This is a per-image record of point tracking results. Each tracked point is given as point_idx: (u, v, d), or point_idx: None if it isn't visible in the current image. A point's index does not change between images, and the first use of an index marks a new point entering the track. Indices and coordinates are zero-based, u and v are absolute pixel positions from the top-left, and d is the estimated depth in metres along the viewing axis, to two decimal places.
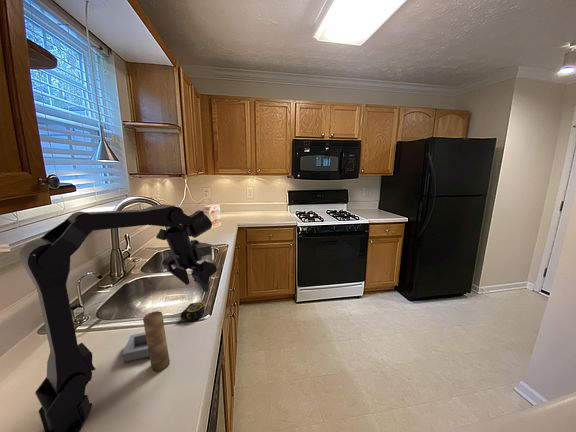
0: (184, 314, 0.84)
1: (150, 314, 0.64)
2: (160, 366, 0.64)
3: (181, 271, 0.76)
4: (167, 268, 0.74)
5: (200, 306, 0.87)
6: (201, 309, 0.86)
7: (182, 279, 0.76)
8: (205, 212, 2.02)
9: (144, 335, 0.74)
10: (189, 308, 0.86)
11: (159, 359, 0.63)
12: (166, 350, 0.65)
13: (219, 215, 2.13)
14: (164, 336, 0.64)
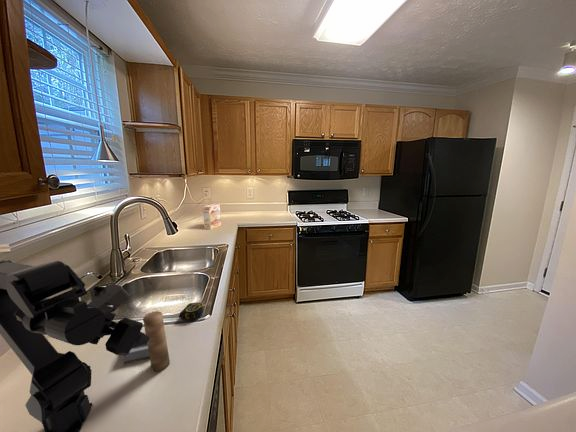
0: (183, 314, 0.84)
1: (150, 314, 0.64)
2: (160, 366, 0.64)
3: None
4: None
5: (199, 306, 0.87)
6: (200, 309, 0.86)
7: None
8: (205, 212, 2.02)
9: None
10: (188, 308, 0.86)
11: (159, 359, 0.63)
12: (166, 350, 0.65)
13: (219, 215, 2.13)
14: (164, 336, 0.64)
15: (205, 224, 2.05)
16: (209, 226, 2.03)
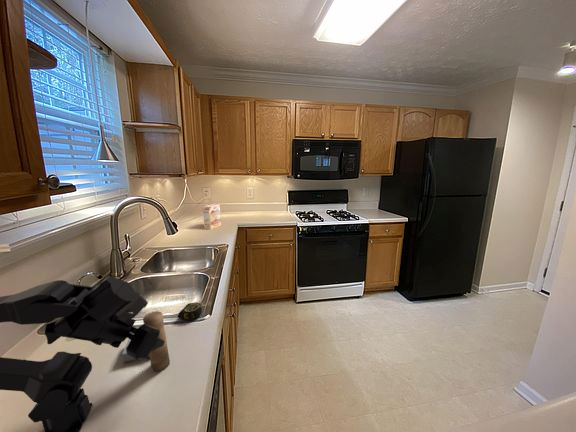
0: (181, 314, 0.84)
1: (150, 314, 0.64)
2: (160, 366, 0.64)
3: None
4: None
5: (197, 306, 0.87)
6: (199, 309, 0.86)
7: None
8: (205, 212, 2.02)
9: None
10: (186, 308, 0.86)
11: (159, 359, 0.63)
12: (166, 350, 0.65)
13: (219, 215, 2.13)
14: (164, 336, 0.64)
15: (205, 224, 2.05)
16: (209, 226, 2.03)
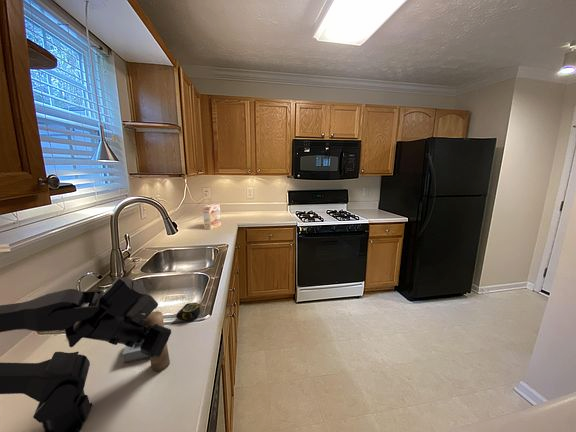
0: (180, 314, 0.84)
1: (150, 314, 0.64)
2: (160, 366, 0.64)
3: None
4: None
5: (196, 306, 0.87)
6: (197, 309, 0.86)
7: None
8: (205, 212, 2.02)
9: None
10: (185, 308, 0.86)
11: (159, 359, 0.63)
12: (166, 350, 0.65)
13: (219, 215, 2.13)
14: None
15: (205, 224, 2.05)
16: (209, 226, 2.03)
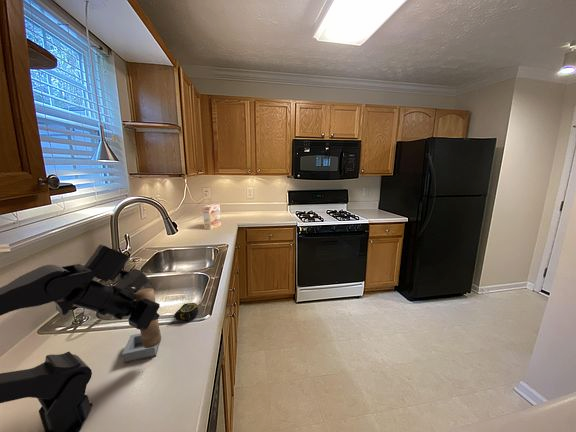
0: (178, 314, 0.84)
1: (142, 290, 0.64)
2: (150, 342, 0.64)
3: None
4: None
5: (194, 306, 0.87)
6: (195, 309, 0.86)
7: None
8: (205, 212, 2.02)
9: None
10: (183, 308, 0.86)
11: (149, 335, 0.64)
12: (157, 327, 0.65)
13: (219, 215, 2.13)
14: None
15: (205, 224, 2.05)
16: (209, 226, 2.03)
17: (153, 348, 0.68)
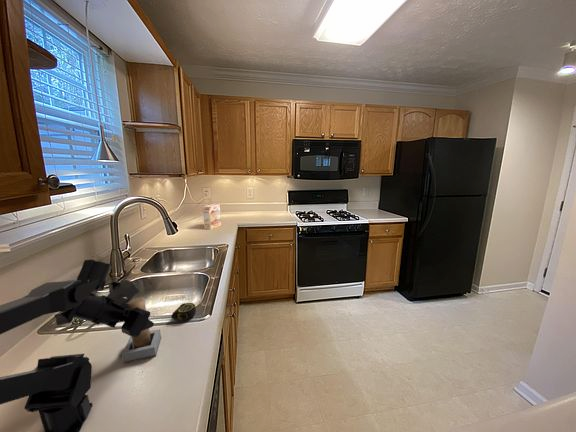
0: (175, 314, 0.84)
1: (133, 301, 0.69)
2: None
3: None
4: None
5: (191, 306, 0.87)
6: (192, 309, 0.86)
7: (125, 319, 0.70)
8: (205, 212, 2.02)
9: None
10: (180, 308, 0.86)
11: (141, 342, 0.69)
12: (148, 335, 0.70)
13: (219, 215, 2.13)
14: None
15: (205, 224, 2.05)
16: (209, 226, 2.03)
17: (153, 348, 0.68)
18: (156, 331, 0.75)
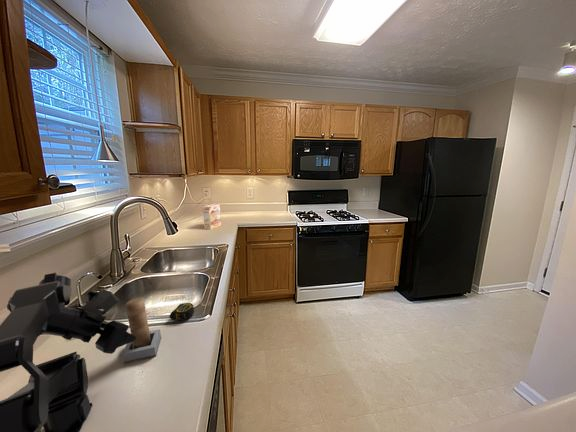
0: (173, 314, 0.84)
1: (132, 300, 0.69)
2: None
3: None
4: None
5: (189, 306, 0.87)
6: (190, 309, 0.86)
7: None
8: (205, 212, 2.02)
9: None
10: (178, 308, 0.86)
11: (141, 341, 0.69)
12: (148, 334, 0.71)
13: (219, 215, 2.13)
14: (145, 321, 0.70)
15: (205, 224, 2.05)
16: (209, 226, 2.03)
17: (153, 348, 0.68)
18: (156, 331, 0.75)
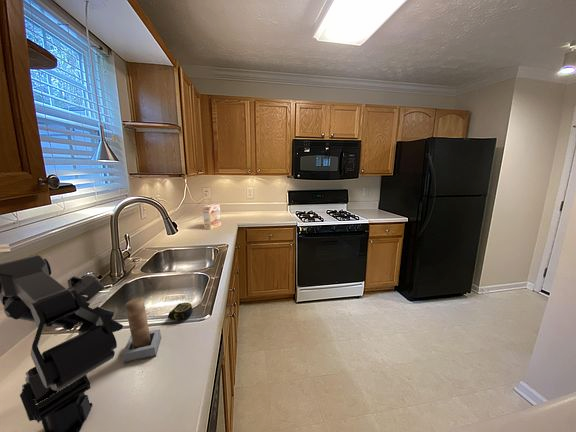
0: (171, 314, 0.84)
1: (132, 301, 0.69)
2: None
3: None
4: None
5: (188, 306, 0.87)
6: (189, 309, 0.86)
7: None
8: (205, 212, 2.02)
9: None
10: (177, 308, 0.86)
11: (141, 342, 0.69)
12: (148, 334, 0.71)
13: (219, 215, 2.13)
14: (145, 321, 0.70)
15: (205, 224, 2.05)
16: (209, 226, 2.03)
17: (153, 348, 0.68)
18: (156, 331, 0.75)
